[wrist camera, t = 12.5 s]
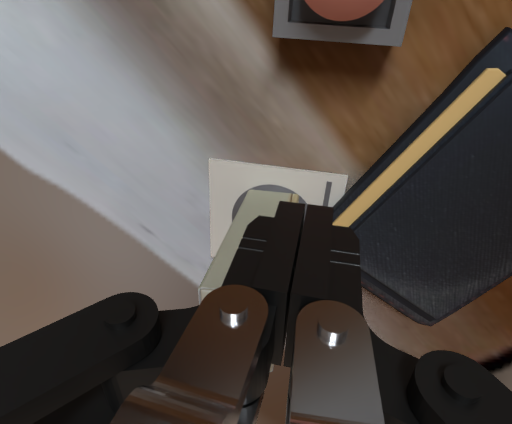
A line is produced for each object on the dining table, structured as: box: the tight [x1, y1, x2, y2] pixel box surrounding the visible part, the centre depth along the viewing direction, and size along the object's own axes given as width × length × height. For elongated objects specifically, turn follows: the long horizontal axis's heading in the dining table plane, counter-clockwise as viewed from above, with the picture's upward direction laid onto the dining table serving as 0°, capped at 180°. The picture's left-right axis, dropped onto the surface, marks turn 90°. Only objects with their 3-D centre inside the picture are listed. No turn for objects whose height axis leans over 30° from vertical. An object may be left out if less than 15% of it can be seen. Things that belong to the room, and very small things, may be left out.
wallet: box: [332, 27, 512, 326], centre depth 26 cm, size 20×2×15 cm
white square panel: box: [209, 158, 348, 257], centre depth 30 cm, size 11×10×1 cm
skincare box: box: [198, 190, 299, 372], centre depth 25 cm, size 6×4×12 cm
